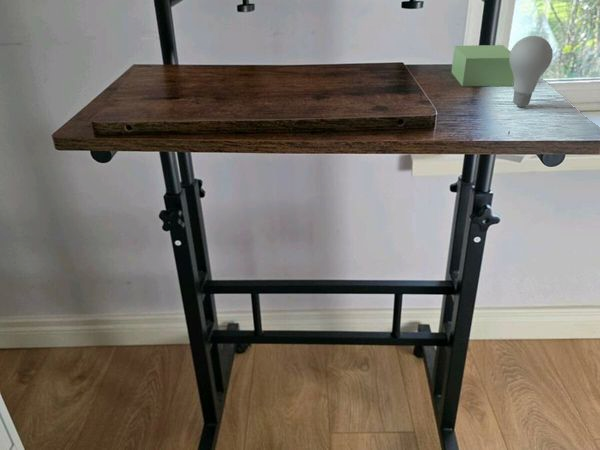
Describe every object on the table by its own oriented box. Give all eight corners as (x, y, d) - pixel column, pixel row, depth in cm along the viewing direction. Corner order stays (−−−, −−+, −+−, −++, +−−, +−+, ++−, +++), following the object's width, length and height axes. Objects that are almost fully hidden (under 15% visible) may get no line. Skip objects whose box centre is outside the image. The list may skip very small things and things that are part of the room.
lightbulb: (516, 98, 89) (529, 30, 84) (548, 108, 85) (565, 36, 79) (492, 105, 87) (504, 35, 81) (524, 116, 82) (540, 43, 76)
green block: (512, 86, 95) (518, 57, 92) (462, 86, 95) (466, 58, 93) (498, 71, 103) (502, 45, 100) (451, 72, 103) (454, 45, 100)
